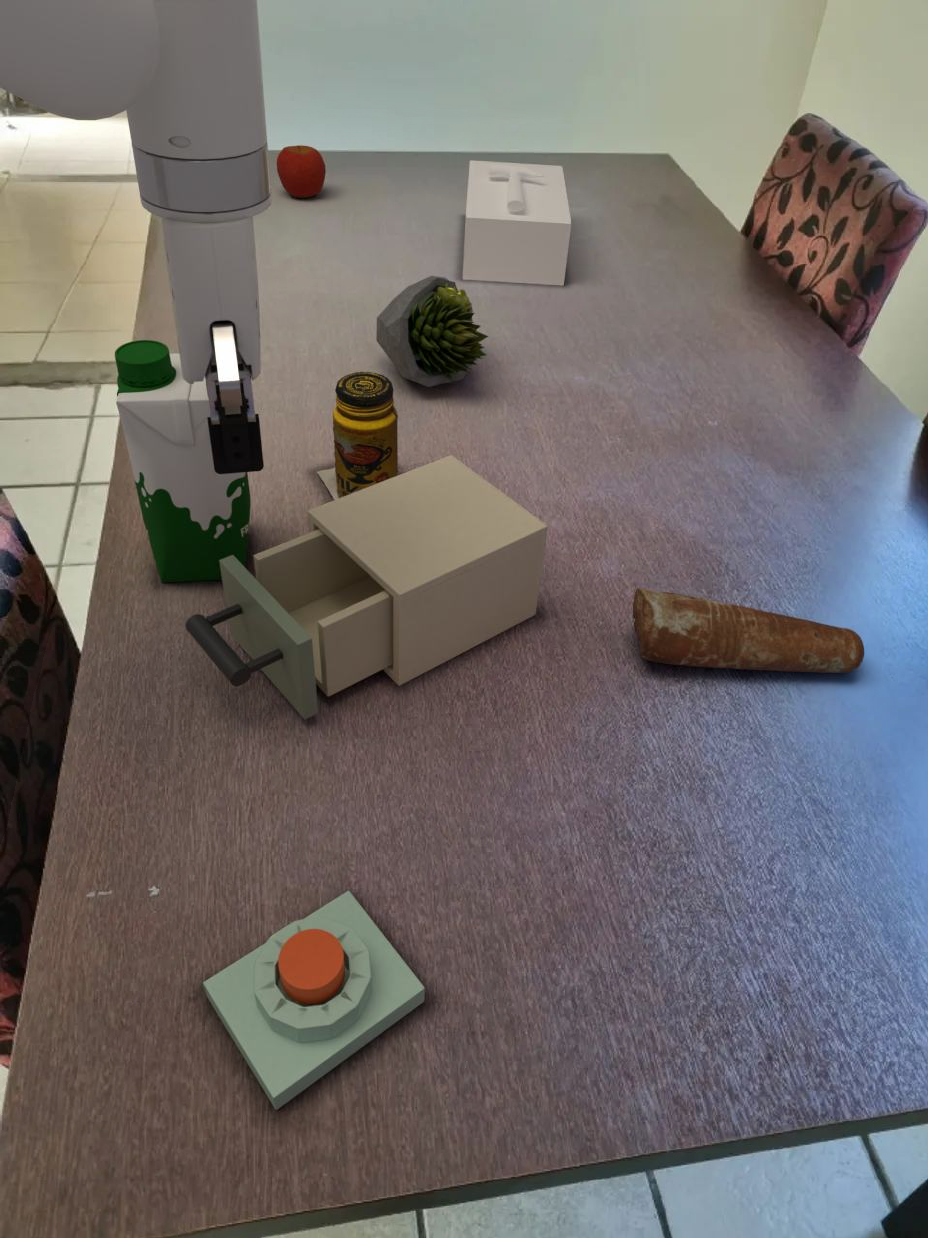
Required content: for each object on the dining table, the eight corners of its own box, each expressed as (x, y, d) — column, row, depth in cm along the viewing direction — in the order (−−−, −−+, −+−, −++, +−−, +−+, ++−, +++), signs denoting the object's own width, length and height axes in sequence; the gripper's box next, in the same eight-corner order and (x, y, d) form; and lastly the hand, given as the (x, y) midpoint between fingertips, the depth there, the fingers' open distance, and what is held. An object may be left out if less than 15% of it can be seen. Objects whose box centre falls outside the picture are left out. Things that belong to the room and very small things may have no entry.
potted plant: (461, 313, 117) (540, 327, 106) (408, 400, 117) (481, 422, 106) (398, 248, 109) (476, 256, 98) (340, 341, 109) (411, 359, 98)
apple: (306, 206, 152) (303, 155, 146) (268, 196, 154) (264, 145, 149) (335, 194, 157) (333, 143, 151) (298, 184, 159) (295, 134, 154)
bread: (625, 623, 81) (636, 573, 77) (848, 648, 80) (870, 599, 76) (626, 675, 76) (638, 625, 73) (863, 702, 76) (888, 652, 72)
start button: (302, 1017, 51) (300, 1002, 50) (268, 967, 53) (265, 952, 52) (357, 979, 53) (356, 964, 52) (322, 932, 55) (321, 917, 54)
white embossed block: (555, 222, 152) (563, 149, 145) (563, 285, 134) (573, 206, 126) (466, 216, 152) (470, 144, 145) (462, 279, 133) (466, 199, 126)
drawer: (253, 746, 68) (241, 671, 63) (181, 656, 74) (165, 581, 69) (447, 646, 77) (451, 573, 71) (368, 573, 83) (366, 501, 78)
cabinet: (398, 686, 74) (399, 594, 68) (313, 600, 81) (307, 510, 75) (536, 614, 81) (548, 525, 75) (447, 541, 88) (451, 454, 82)
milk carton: (159, 529, 88) (117, 326, 74) (258, 525, 89) (234, 324, 75) (149, 590, 81) (100, 380, 68) (255, 585, 82) (229, 377, 69)
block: (276, 1111, 51) (270, 1084, 48) (206, 996, 55) (198, 967, 53) (424, 1001, 55) (426, 973, 53) (349, 904, 60) (347, 874, 58)
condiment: (346, 518, 90) (341, 407, 82) (316, 472, 96) (309, 364, 88) (415, 502, 93) (418, 393, 85) (382, 458, 98) (381, 352, 90)
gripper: (138, 131, 60) (177, 377, 71) (135, 230, 48) (182, 508, 59) (257, 131, 62) (276, 371, 73) (284, 227, 49) (302, 497, 61)
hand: (234, 432), depth 66 cm, fingers open, 9 cm apart
